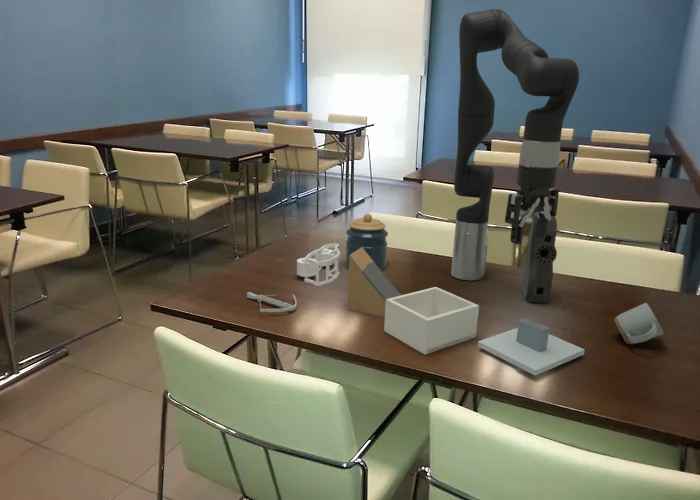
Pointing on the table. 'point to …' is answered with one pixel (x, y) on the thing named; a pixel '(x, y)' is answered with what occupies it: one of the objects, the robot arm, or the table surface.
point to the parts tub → (431, 319)
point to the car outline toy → (319, 264)
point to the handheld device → (539, 263)
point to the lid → (531, 347)
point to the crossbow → (263, 297)
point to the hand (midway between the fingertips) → (528, 240)
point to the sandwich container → (368, 285)
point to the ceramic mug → (638, 324)
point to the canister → (367, 239)
